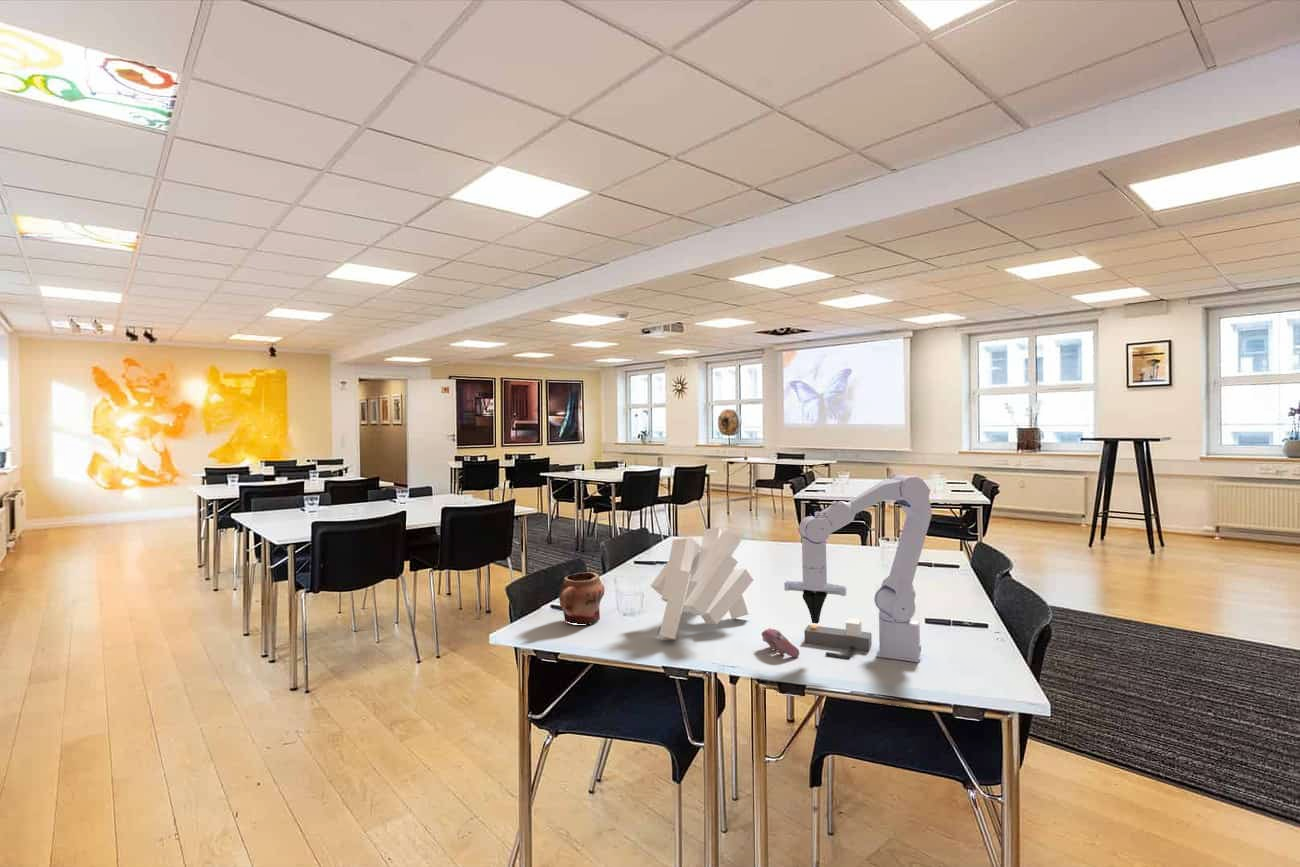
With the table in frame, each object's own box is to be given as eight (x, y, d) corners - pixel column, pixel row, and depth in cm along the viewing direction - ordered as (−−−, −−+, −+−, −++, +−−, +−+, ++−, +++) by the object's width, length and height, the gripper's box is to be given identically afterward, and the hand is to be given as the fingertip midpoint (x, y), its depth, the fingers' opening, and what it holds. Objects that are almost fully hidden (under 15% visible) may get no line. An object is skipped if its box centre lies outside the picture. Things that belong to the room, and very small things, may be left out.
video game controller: (766, 652, 158) (755, 629, 157) (780, 642, 160) (769, 620, 159) (788, 666, 149) (776, 642, 148) (802, 655, 151) (791, 631, 149)
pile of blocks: (738, 673, 155) (786, 544, 163) (630, 623, 160) (682, 500, 168) (728, 661, 188) (769, 555, 196) (639, 620, 193) (682, 518, 201)
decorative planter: (584, 636, 169) (583, 585, 169) (545, 632, 173) (544, 582, 173) (613, 615, 187) (612, 570, 187) (577, 612, 191) (576, 567, 191)
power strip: (871, 645, 158) (871, 620, 158) (865, 661, 147) (864, 634, 147) (808, 636, 165) (808, 613, 165) (798, 652, 154) (797, 626, 154)
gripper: (847, 565, 150) (849, 620, 150) (788, 561, 157) (789, 614, 157) (843, 571, 144) (844, 629, 144) (781, 566, 150) (783, 622, 150)
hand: (815, 622), depth 150 cm, fingers closed
